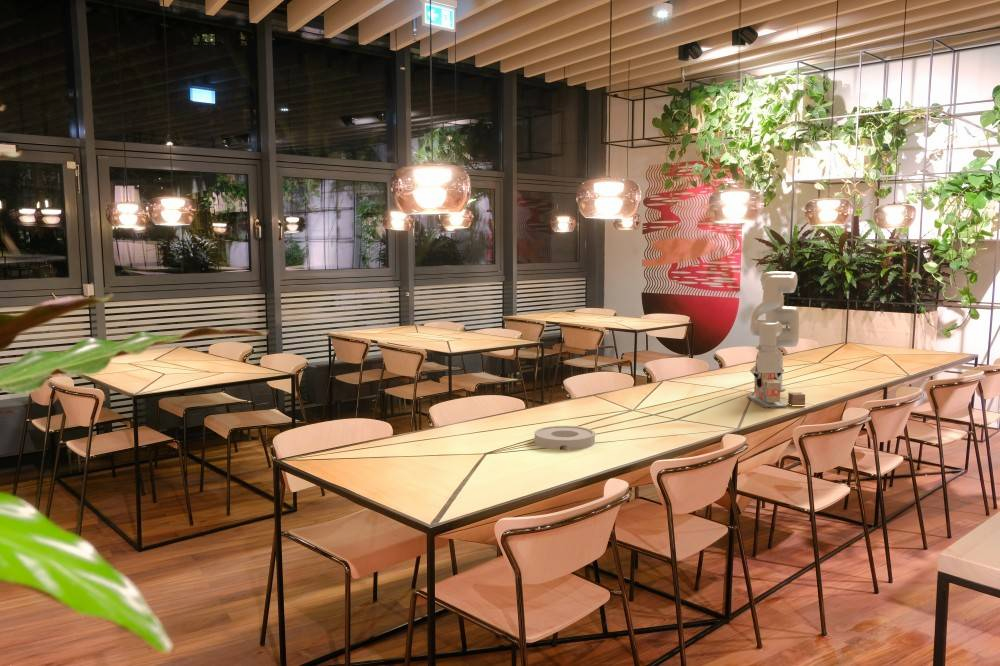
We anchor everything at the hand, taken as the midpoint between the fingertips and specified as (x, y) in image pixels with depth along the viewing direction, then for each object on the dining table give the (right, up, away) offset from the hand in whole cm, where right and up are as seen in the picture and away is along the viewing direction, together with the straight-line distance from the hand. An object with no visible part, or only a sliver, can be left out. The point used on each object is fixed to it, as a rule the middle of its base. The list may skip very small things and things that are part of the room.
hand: (766, 386), depth 363 cm
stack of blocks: (0, -6, 0) cm, 6 cm away
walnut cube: (+12, -8, -6) cm, 16 cm away
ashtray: (-100, -17, -67) cm, 122 cm away
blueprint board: (0, -8, +1) cm, 8 cm away
